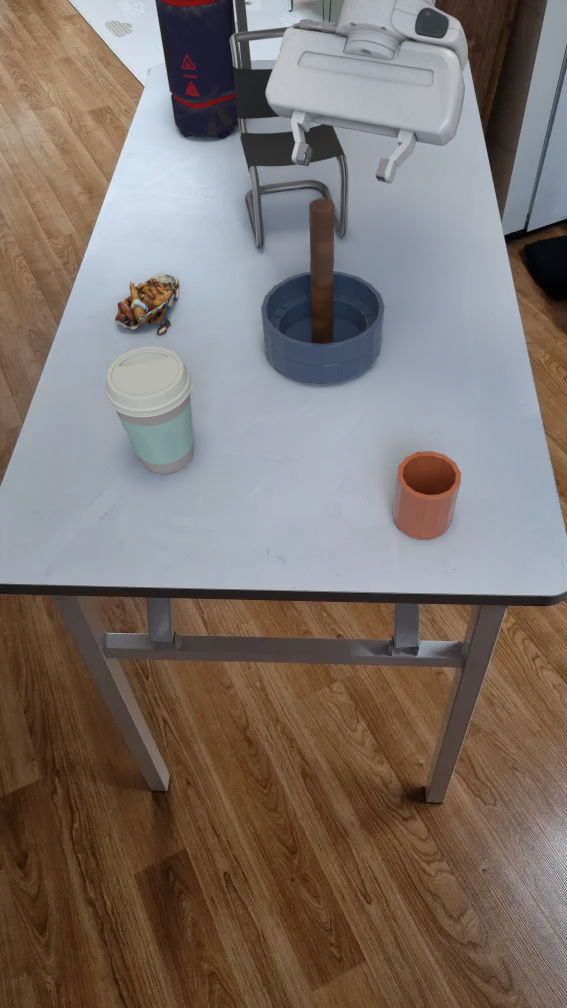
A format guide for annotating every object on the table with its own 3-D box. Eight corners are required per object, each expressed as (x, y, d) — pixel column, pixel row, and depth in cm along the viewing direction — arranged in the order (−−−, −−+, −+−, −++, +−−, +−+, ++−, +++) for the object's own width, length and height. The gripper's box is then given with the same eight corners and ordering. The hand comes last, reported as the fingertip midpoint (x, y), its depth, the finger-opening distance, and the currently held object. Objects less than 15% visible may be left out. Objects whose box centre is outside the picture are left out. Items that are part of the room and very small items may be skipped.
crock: (452, 496, 73) (462, 454, 68) (449, 544, 70) (459, 503, 65) (395, 489, 74) (401, 447, 69) (389, 536, 71) (394, 495, 66)
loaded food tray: (185, 279, 98) (181, 255, 96) (166, 336, 91) (161, 312, 88) (136, 277, 99) (130, 254, 96) (113, 333, 92) (106, 310, 89)
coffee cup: (217, 434, 80) (203, 351, 71) (186, 492, 75) (166, 410, 66) (148, 419, 82) (125, 335, 73) (114, 474, 77) (84, 392, 68)
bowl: (386, 315, 92) (390, 275, 87) (373, 392, 83) (376, 352, 78) (277, 306, 94) (275, 266, 89) (253, 380, 85) (249, 340, 81)
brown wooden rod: (334, 337, 89) (336, 199, 74) (331, 351, 87) (332, 212, 73) (313, 335, 89) (311, 197, 75) (310, 349, 87) (307, 211, 73)
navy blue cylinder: (166, 140, 123) (129, -79, 99) (187, 108, 130) (157, -104, 106) (244, 145, 121) (225, -78, 97) (261, 113, 128) (247, -103, 104)
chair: (324, 182, 112) (324, 21, 95) (348, 244, 102) (352, 75, 84) (242, 192, 112) (227, 32, 94) (257, 256, 101) (243, 88, 84)
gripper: (278, -1, 72) (240, 142, 75) (477, 24, 66) (428, 179, 68) (298, 33, 78) (263, 164, 80) (483, 59, 72) (438, 201, 74)
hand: (340, 171), depth 74 cm, fingers open, 8 cm apart
